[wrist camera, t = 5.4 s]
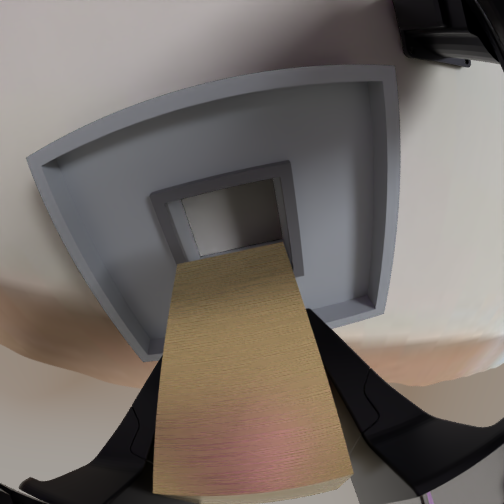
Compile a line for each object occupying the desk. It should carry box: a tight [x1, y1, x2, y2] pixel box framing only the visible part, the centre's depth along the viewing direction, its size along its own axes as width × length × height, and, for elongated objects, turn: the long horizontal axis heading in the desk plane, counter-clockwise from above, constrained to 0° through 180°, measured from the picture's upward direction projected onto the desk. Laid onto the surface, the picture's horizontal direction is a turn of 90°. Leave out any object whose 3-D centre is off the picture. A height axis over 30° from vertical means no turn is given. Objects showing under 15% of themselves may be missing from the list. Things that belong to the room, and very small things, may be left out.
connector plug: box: [153, 242, 354, 504], centre depth 8 cm, size 4×4×8 cm
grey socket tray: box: [26, 65, 400, 362], centre depth 16 cm, size 18×16×4 cm
